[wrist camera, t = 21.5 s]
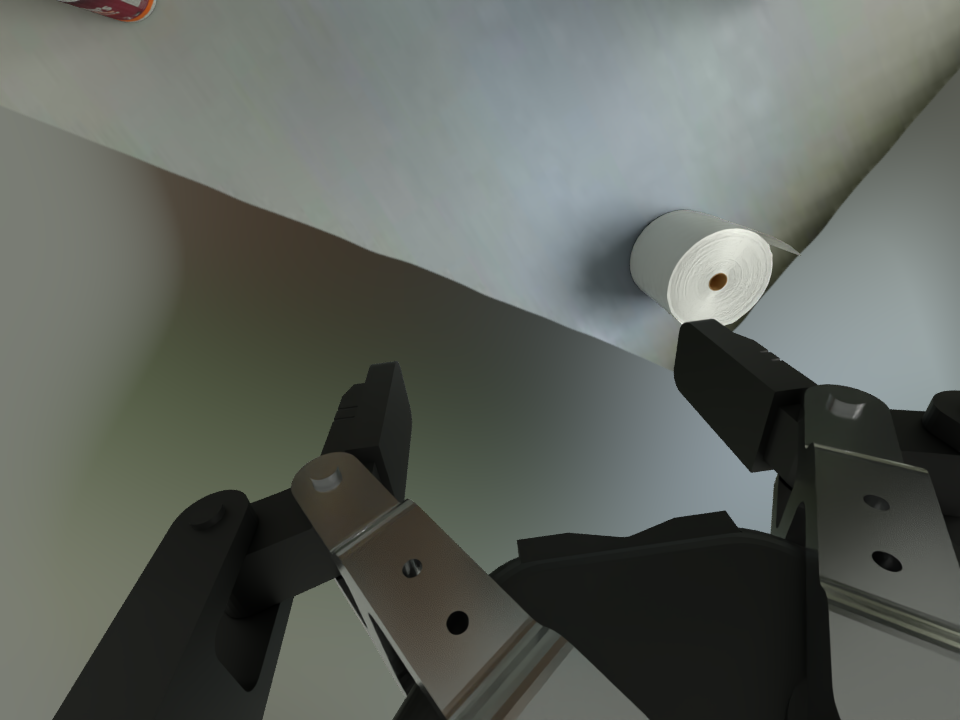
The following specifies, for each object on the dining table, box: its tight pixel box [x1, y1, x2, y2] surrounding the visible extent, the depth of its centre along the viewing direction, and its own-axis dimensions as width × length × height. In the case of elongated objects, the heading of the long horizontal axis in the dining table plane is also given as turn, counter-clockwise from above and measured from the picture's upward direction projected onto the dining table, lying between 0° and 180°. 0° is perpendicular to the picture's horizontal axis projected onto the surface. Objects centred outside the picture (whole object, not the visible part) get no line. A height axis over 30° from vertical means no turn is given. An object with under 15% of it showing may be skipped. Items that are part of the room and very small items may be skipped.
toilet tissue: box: [630, 210, 800, 325], centre depth 46 cm, size 11×12×10 cm
